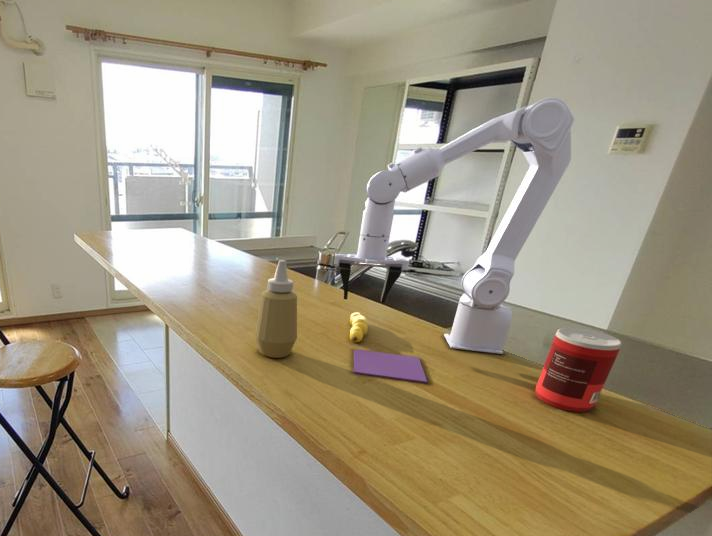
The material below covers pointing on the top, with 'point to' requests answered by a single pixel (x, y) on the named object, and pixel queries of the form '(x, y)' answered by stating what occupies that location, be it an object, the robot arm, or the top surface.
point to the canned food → (577, 368)
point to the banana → (358, 327)
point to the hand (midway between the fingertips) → (363, 299)
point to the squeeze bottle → (277, 316)
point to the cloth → (388, 365)
